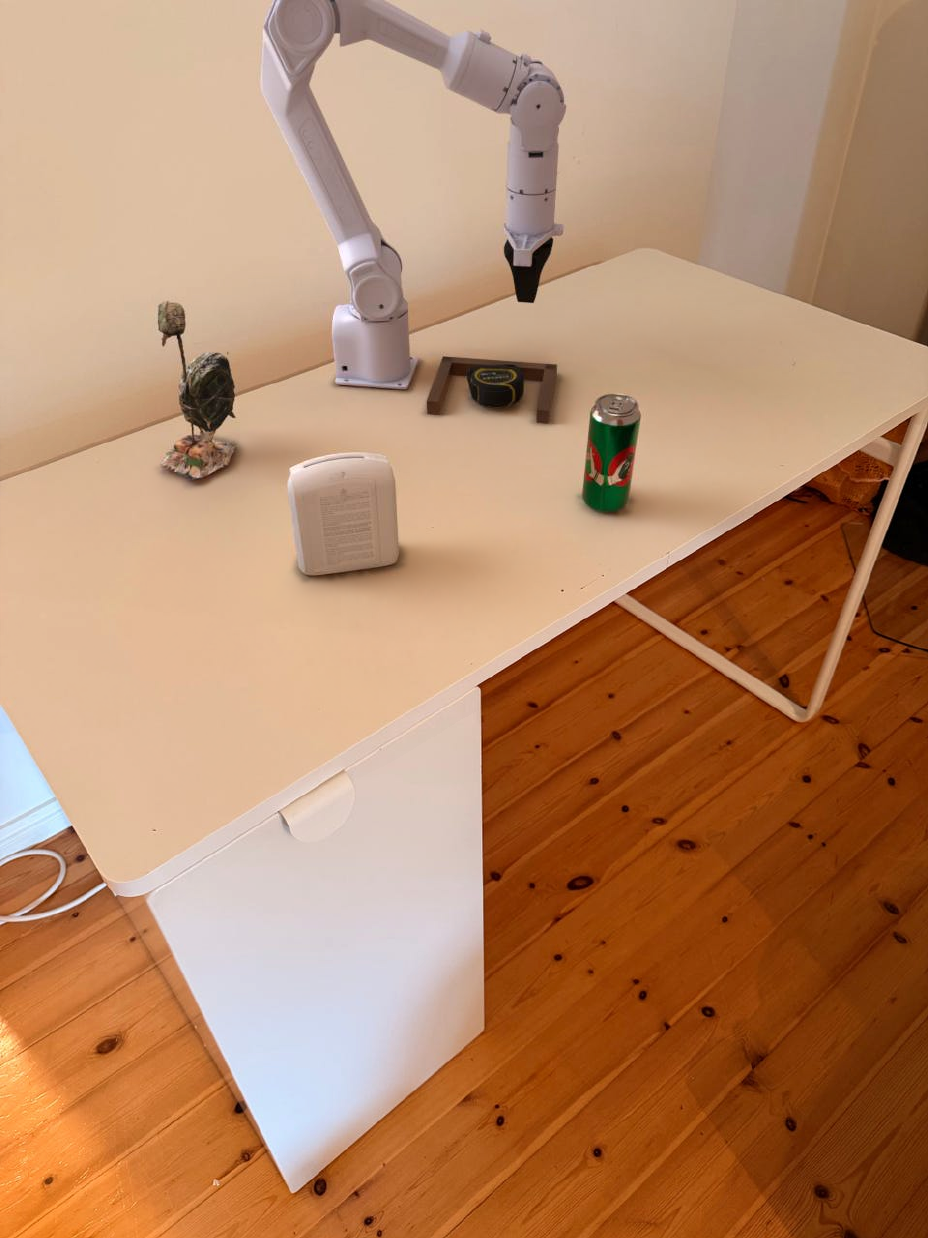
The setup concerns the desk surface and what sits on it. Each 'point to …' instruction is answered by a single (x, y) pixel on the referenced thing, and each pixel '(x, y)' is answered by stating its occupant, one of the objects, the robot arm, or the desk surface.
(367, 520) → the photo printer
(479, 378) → the tape measure
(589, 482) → the soda can
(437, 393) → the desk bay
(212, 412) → the plant with pod
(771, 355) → the desk surface
